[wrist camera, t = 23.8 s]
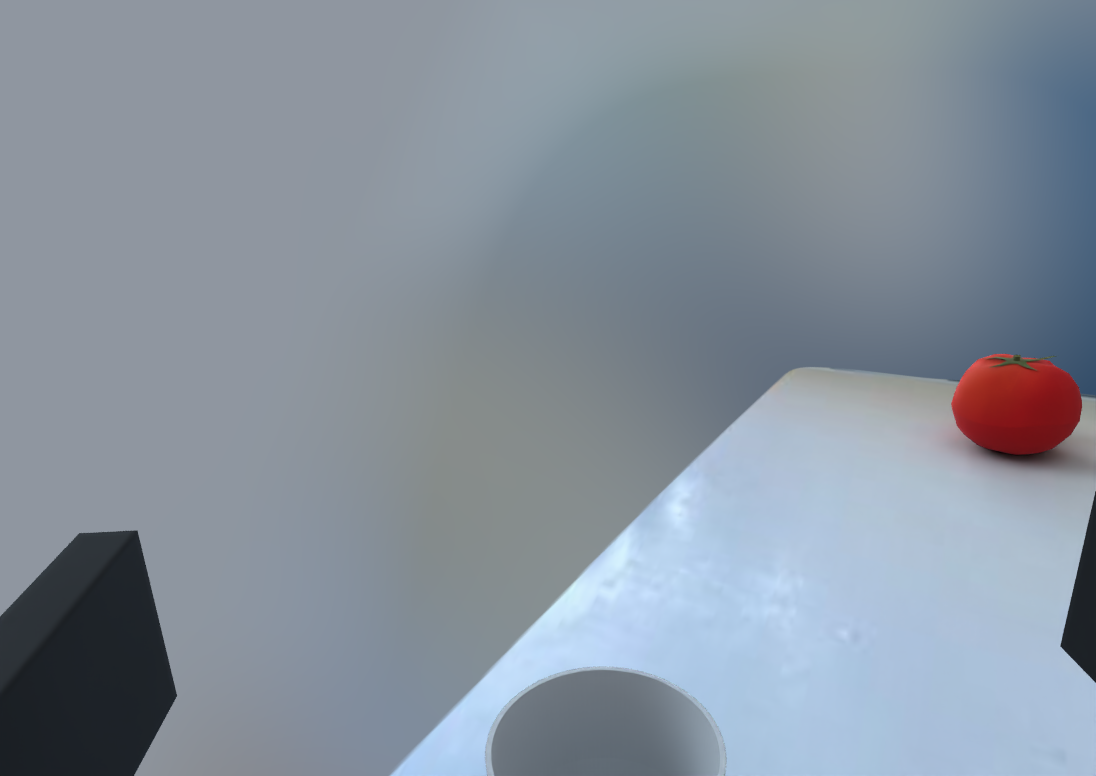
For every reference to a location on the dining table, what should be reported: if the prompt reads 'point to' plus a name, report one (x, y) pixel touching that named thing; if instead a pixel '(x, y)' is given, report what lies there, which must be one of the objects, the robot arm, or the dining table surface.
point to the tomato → (1016, 404)
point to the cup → (604, 728)
